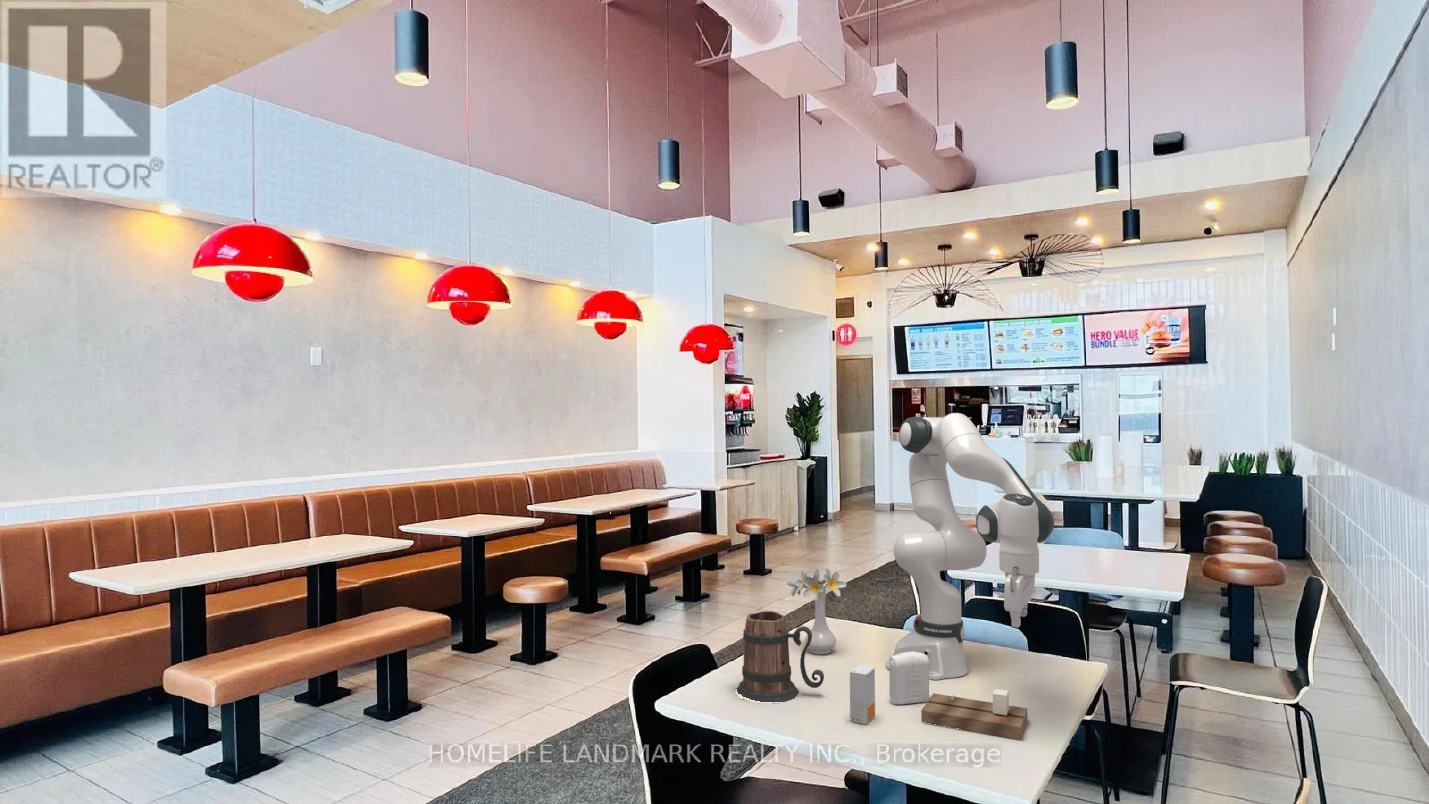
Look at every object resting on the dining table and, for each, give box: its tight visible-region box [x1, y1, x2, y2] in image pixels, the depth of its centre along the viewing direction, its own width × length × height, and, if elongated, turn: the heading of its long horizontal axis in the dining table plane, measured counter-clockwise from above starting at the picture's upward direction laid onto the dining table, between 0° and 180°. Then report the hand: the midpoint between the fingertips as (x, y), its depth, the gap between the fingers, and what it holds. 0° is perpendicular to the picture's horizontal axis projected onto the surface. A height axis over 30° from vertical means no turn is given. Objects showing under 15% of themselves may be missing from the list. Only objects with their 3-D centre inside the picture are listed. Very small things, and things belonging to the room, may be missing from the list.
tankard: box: [736, 610, 825, 703], centre depth 208 cm, size 24×17×20 cm
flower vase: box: [786, 567, 847, 656], centre depth 241 cm, size 13×18×25 cm
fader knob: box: [992, 688, 1010, 715], centre depth 185 cm, size 3×4×6 cm
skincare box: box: [849, 664, 876, 725], centre depth 190 cm, size 6×4×12 cm
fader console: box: [920, 693, 1029, 741], centre depth 188 cm, size 22×12×3 cm, turn 61°
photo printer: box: [888, 652, 930, 705], centre depth 201 cm, size 10×4×12 cm, turn 104°
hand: (1019, 621), depth 189 cm, fingers open, 8 cm apart
